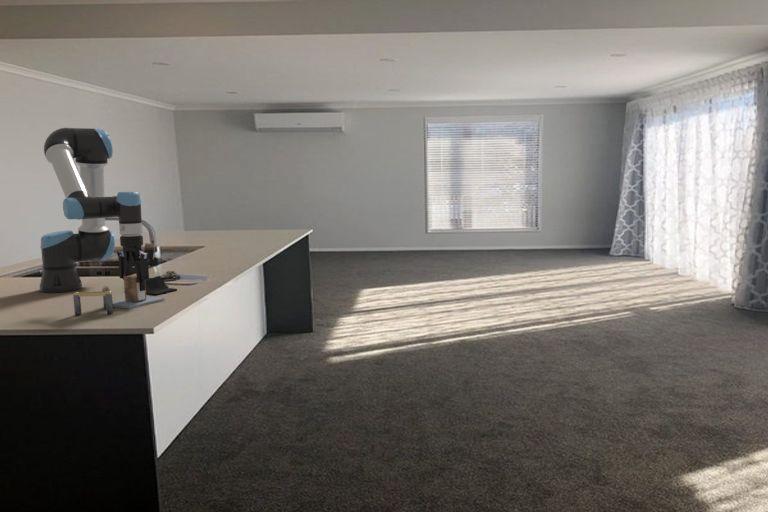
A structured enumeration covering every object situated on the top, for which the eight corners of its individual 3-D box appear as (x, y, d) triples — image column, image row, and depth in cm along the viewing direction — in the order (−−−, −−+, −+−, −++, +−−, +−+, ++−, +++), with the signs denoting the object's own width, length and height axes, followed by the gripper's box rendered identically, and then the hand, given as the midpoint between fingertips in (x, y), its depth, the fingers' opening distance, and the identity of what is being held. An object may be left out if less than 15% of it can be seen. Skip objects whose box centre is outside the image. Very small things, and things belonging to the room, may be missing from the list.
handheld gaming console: (160, 292, 227) (148, 270, 228) (148, 302, 228) (135, 281, 230) (179, 290, 238) (167, 270, 239) (167, 300, 239) (155, 280, 241)
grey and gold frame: (73, 315, 197) (71, 292, 196) (107, 307, 208) (105, 285, 207) (93, 318, 192) (91, 294, 191) (127, 310, 204) (125, 287, 202)
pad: (106, 305, 211) (106, 303, 211) (141, 297, 224) (141, 295, 224) (130, 308, 206) (129, 306, 206) (164, 300, 219) (163, 298, 219)
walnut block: (125, 301, 214) (123, 276, 213) (136, 298, 218) (135, 274, 217) (135, 302, 212) (133, 277, 210) (146, 299, 216) (144, 275, 215)
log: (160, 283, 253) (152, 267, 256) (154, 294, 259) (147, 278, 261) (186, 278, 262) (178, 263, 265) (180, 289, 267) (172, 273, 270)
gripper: (104, 234, 212) (109, 298, 216) (140, 237, 204) (144, 303, 207) (122, 232, 219) (127, 294, 222) (157, 235, 211) (161, 299, 214)
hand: (135, 298), depth 215 cm, fingers open, 5 cm apart
